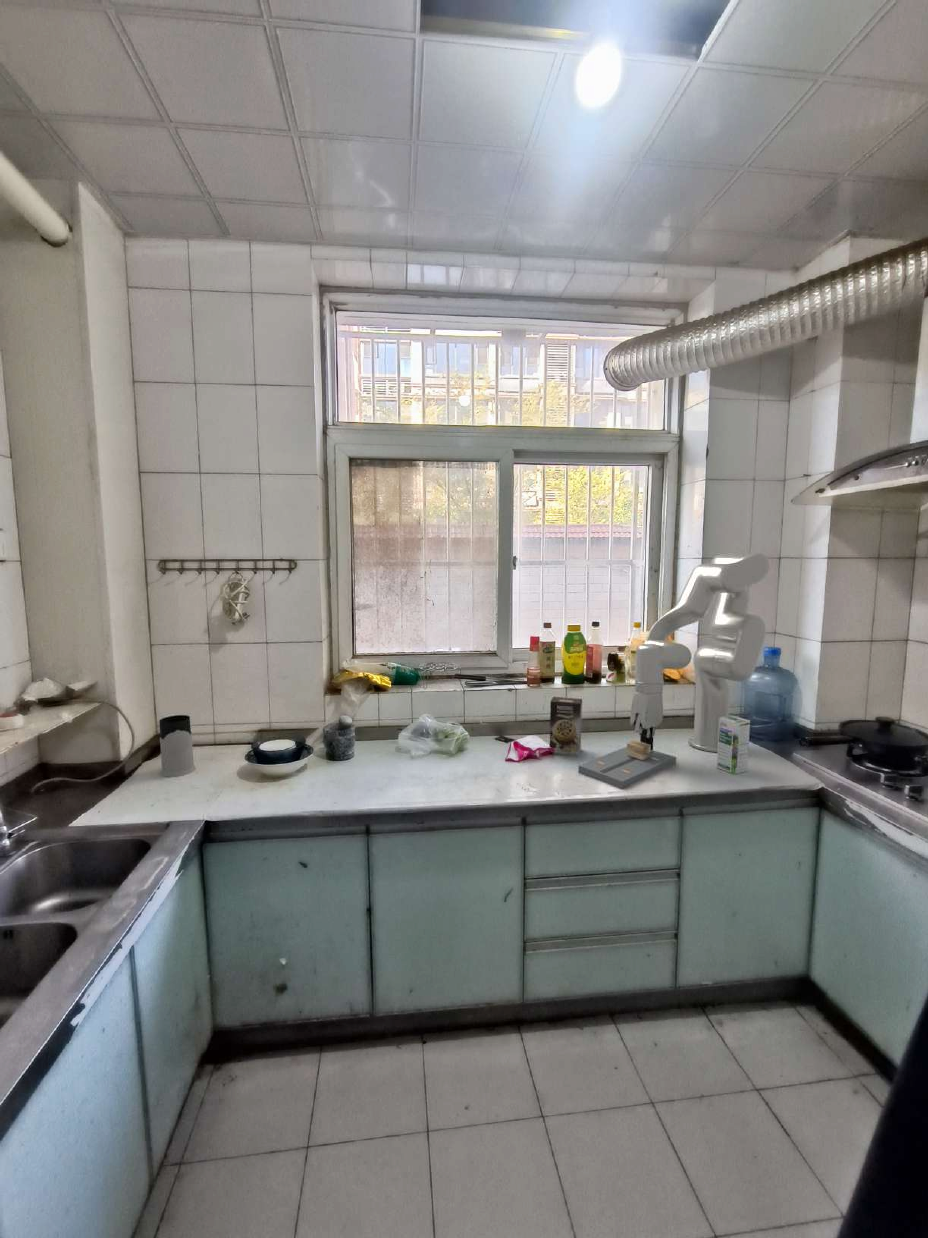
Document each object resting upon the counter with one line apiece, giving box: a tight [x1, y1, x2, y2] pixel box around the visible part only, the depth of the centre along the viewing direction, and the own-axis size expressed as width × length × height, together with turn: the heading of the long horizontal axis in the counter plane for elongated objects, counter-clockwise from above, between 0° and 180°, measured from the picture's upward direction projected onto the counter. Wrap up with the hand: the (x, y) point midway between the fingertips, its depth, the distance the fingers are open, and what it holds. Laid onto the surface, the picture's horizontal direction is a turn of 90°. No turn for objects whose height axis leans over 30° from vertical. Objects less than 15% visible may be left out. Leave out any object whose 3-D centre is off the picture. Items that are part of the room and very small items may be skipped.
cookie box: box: [549, 696, 583, 757], centre depth 163 cm, size 9×6×16 cm
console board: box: [577, 746, 677, 790], centre depth 150 cm, size 26×14×2 cm, turn 129°
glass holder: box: [159, 714, 196, 778], centre depth 152 cm, size 9×14×15 cm, turn 36°
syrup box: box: [716, 715, 751, 775], centre depth 148 cm, size 6×6×14 cm
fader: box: [626, 739, 651, 760], centre depth 153 cm, size 4×5×4 cm
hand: (646, 749), depth 156 cm, fingers closed
